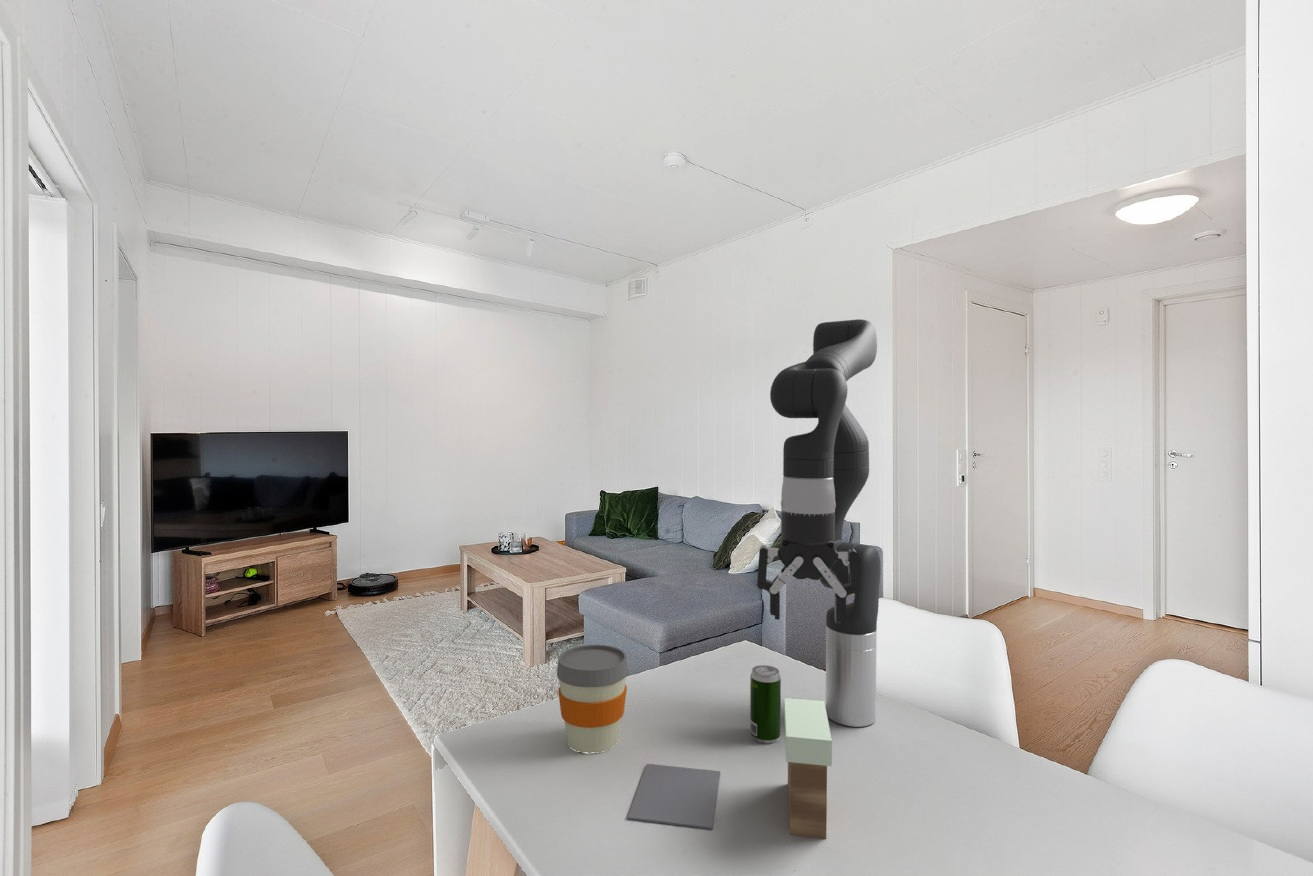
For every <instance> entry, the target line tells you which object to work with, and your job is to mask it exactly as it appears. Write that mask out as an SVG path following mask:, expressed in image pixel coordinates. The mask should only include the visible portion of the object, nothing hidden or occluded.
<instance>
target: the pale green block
mask: <svg viewBox="0 0 1313 876" xmlns="http://www.w3.org/2000/svg"><path fill="white" fill-rule="evenodd" d="M783 706H784V710H783V713H784V714H783V717H784V720H783V723H784V741H785V743H784V744H785V745H784V746H785V762H787V763H788V762H794V763H804V764H814V765H824V766H827V767H832V765H833V764H832V762H833V760H832V759H833V756H832V755H833V754H832V753H833V751H832V750H833V739H832V734H831V729H830V728H831V727H830V723H829V717H828V716H827V713H826V701H825V700H816V699H815V700H814V699H800V698H792V697H791V698H789V697H784V705H783Z"/></svg>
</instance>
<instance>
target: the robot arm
mask: <svg viewBox="0 0 1313 876" xmlns="http://www.w3.org/2000/svg"><path fill="white" fill-rule="evenodd" d="M876 332H877V331H876V328H875V326H874V325H873V323H872V322H871V321H870V320H867V319H861V318H860V319H858V318H857V319H849V320H848V319H846V320H838V321H836V320H834V321H827V322H820V323H818V324H817V325H816V327H815V329H814V332H813V338H812V339H813V340H812V341H813V343H812V348H813V349H812V350H813V352H812V353H813V354H812V355H811V356H809V357H808V359H807V360H806V361H802V362H798V363H796V364H793V365H790V366H788V367H785V368H784V369H782V370H780V372H778V374H776V376H775V377H774V379H773V381H772V384H771V387H770V393H769V396H770V397H769V398H770V403H771V406H772V408H773V410H774V411H775V412H776V413H777V414H779V415H780V416H781V417H784V418H788V419H818V420H817V424H816V425H815V428H814V429H813V430H812V431H809V432H806V433H801V434H796V435H792V436H789V437H787V438H786V439H785V441H784V442H783V443H784V444H783V450H782V451H783V454H782V455H783V456H782V457H783V460H782V461H783V462H782V465H783V466H782V469H783V470H782V473H783V474H782V477H783V478H782V485H781V491H780V492H781V494H780V495H781V499H780V500H781V501H780V509H781V515H780V525H781V527H780V544H779V546H778V547H768V546H767V545H761V546H760V547H759V553H758V566H757V569H758V570H757V582H756V586H757V588H758V589H759V590H764V591H767V592H768V594H769V614H770V615H771V616H774V620H777V621H780V618H781V616H780V615H781V613H780V612H781V607H780V606H781V605H780V604H781V602H780V600H781V599H780V598H781V594H780V590H781V589H782V588H783V587H784V586H785V584H787V583H788V581H789V580H790V579H791V578H792V577H793V578H795V579H796V580H806V579H809V580H813V581H820V583H821V584H822V585H823V587H825V588H828V589H832V590H833V591H834V592H835V593H834V606H833V607H830V608H829V609H828V610H827V612H826V617H825V624H826V626H825V628H826V629H825V630H826V631H825V637H826V638H825V640H826V642H825V646H826V647H825V707H826V713H827V718H828V719H830V720H832V721H833V722H835V723H837V724H840V725H843V726H848V727H855V728H858V727H859V728H860V727H867V726H870V725H872V724H874V723H875V721H876V719H877V717H876V714H877V712H876V711H877V710H876V709H877V707H876V706H877V634H878V633H877V632H878V630H877V629H878V627H877V625H878V624H877V621H878V615H879V602H880V601H879V599H880V598H879V596H880V583H881V571H882V570H881V568H882V567H881V566H882V565H881V558H880V554H879V552H878V550H877V548H876V547H875V546H873V545H868V544H861V543H854V542H846V541H843V527H844V524H845V523H844V522H845V519H846V516H847V514H848V512H849V510H850V509H851V507H852V505H853V504H854V502H855V501H856V499H857V498H858V497H859V495H860V493H861V491H862V490H863V488H864V487H865V485H866V483H867V481H868V479H869V476H870V451H869V450H870V445H869V443H870V442H869V440H868V436H867V434H866V432H865V431H864V429H863V427H862V425H860V423H859V422H858V420H857V419H856V417H855V416H854V414H853V413H852V412H851V410H850V409H849V407H848V406H847V405H846V401H847V397H848V384H847V382H848V381H849V380H850V379H852V378H853V377H855V376H856V375H857V374H859V373H861V372H862V371H864V370H867V369H868V368H870V367H872V365H873V364H874V363H875V360H876V357H877V351H878V338H877V333H876ZM775 557H778V559H779V560H780V562H781V563H782V564H783V566H782V568H781V569H780V570H779V571H778V573H777V574H776V576H775V577H774V578H773V580H770V579H767V568H768V564H769V563H770V564H771V563H772V562H773V561H774V558H775ZM852 594H854V598H853V602H851V603H847V597H848V596H850V595H852Z"/></svg>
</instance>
